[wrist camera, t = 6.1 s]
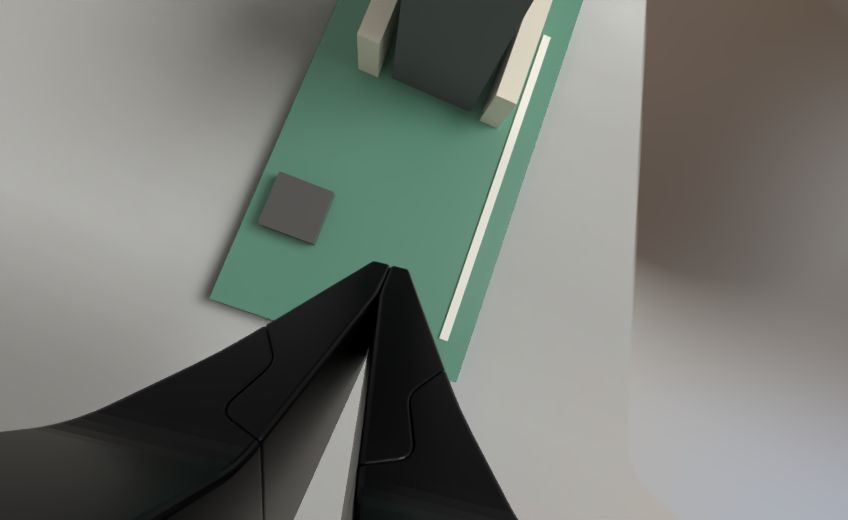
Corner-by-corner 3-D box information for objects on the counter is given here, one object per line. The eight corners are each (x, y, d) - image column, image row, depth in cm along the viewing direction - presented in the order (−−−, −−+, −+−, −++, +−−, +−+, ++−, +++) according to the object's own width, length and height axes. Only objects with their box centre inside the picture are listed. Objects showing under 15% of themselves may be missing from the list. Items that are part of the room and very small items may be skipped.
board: (452, 379, 22) (486, 413, 16) (215, 298, 20) (150, 301, 14) (578, 3, 25) (645, -89, 19) (382, -92, 24) (387, -224, 18)
